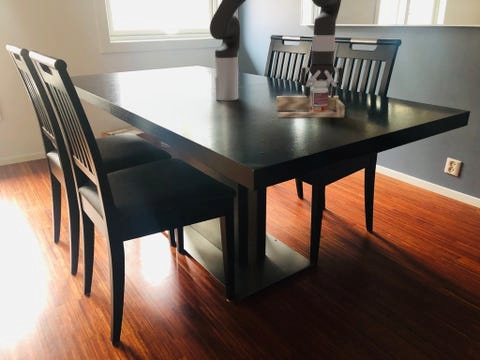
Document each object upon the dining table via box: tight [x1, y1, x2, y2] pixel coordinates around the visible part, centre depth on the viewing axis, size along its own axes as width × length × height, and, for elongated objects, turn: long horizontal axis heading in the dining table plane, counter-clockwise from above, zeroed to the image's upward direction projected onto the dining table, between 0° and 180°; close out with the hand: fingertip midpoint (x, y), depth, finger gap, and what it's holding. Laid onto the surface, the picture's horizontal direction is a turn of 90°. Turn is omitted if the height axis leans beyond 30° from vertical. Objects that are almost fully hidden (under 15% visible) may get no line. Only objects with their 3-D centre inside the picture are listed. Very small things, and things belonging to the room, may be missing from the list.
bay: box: [275, 95, 346, 118], centre depth 139 cm, size 23×13×5 cm, turn 88°
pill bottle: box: [309, 79, 329, 112], centre depth 138 cm, size 6×6×11 cm
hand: (319, 97), depth 138 cm, fingers open, 8 cm apart
